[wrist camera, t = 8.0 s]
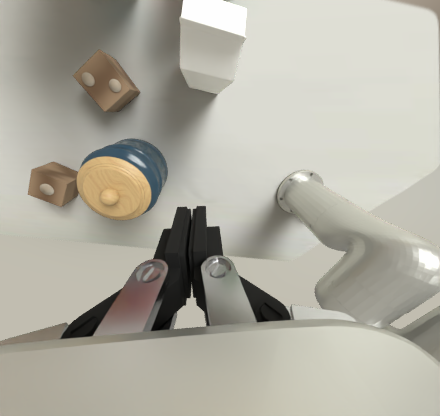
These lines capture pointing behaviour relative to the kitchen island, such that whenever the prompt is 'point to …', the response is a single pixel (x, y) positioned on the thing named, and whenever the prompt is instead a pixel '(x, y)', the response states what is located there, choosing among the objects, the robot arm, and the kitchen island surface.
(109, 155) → the canister
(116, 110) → the dotted block
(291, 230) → the kitchen island surface
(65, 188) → the dotted block
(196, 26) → the milk
